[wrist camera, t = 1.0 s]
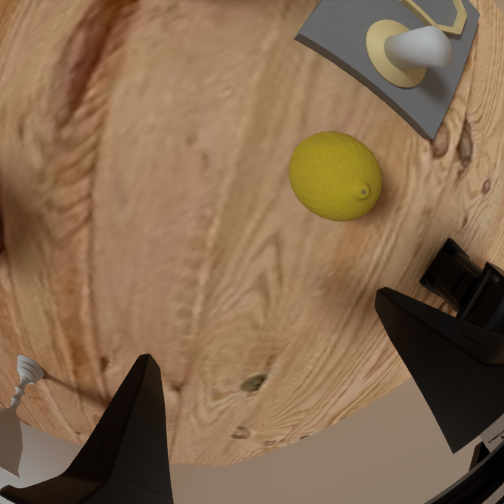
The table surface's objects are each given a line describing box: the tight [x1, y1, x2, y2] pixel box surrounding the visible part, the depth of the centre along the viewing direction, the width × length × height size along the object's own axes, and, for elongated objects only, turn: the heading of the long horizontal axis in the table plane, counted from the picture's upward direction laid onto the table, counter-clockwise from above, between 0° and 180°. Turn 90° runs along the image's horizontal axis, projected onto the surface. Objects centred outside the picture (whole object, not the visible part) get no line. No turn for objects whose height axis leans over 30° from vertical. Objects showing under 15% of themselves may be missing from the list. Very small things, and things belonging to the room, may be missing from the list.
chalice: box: [0, 355, 44, 479], centre depth 19 cm, size 7×7×18 cm
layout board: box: [294, 0, 480, 140], centre depth 11 cm, size 14×20×6 cm
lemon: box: [289, 131, 382, 221], centre depth 16 cm, size 6×6×8 cm
